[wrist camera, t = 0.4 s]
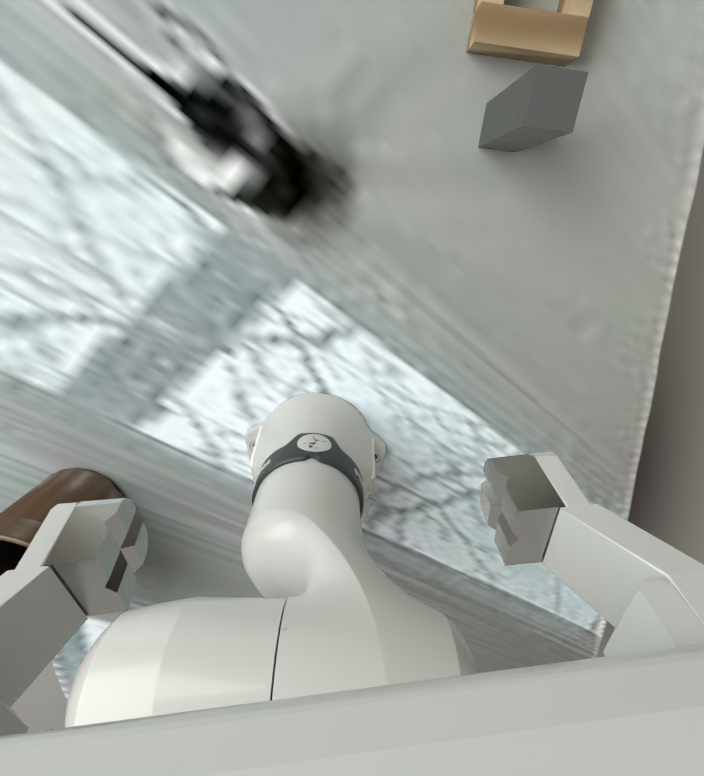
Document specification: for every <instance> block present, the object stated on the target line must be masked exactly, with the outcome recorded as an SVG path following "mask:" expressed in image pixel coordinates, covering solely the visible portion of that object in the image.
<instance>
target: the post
mask: <svg viewBox="0 0 704 776" xmlns="http://www.w3.org/2000/svg"><path fill="white" fill-rule="evenodd" d="M587 75H588V72H583V71H576V70H569V69H562V68H555V67H548V66H541V65H536V66H535V67H533V68H532V69H531V70H530V71H528V72H527V73H526V74H524V75H523V76H522V77H520V78H519V79H518V80H517V81H515V82H514V83H513V84H511V85H510V86H509V87H507V88H506V89H505V90H504V91H502V92H501V93H500V94H498V95H497V96H496V97H495V98H493V99H492V100H491V101H489V102H488V103H487V105H486V110H485V116H484V121H483V126H482V131H481V136H480V141H479V146H478V147H481V148H488V149H496V150H503V151H511V152H517V151H520V150H523V149H526V148H528V147H531V146H534V145H537V144H540V143H543V142H546V141H549V140H551V139H554V138H557V137H560V136H563V135H566V134H569V133H572V132H573V128H574V124H575V120H576V117H577V113H578V109H579V105H580V101H581V98H582V94H583V90H584V86H585V82H586V79H587Z"/></svg>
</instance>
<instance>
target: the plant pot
mask: <svg viewBox="0 0 704 776" xmlns="http://www.w3.org/2000/svg"><path fill="white" fill-rule="evenodd" d="M118 498H125V497H124V495H123V493H122V492H119V491H118V490H117V489H116V488H115V487H114V485H113V483H112V481H110V480H109V479H108V478H106V477H104V476H102V475H100V474H98V473H96V472H93V471H89V470H84V469H65V470H61V471H59V472H57V473H55V474H53V475H51V476H49V477H48V478H47V479H45V480H44V481H43V482H41V483H40V484H39V485H38V486H36V487H35V488H34V489H32V490H31V491H29V492H28V493H27V494H25V495H24V496H23V497H21V498H20V499H19V500H17V501H16V502H15V503H13V504H12V505H11V506H9V507H8V508H7V509H5V510H4V511H3V512H1V513H0V576H1V575H2V574H4V573H5V572H6V571H8V570H15V568H16V567H17V565H18V563H19V562H20V560H21V558H22V557H23V555H24V553H25V552H26V550H27V548H28V547H29V545H30V543H31V542H32V540H33V538H34V537H35V535H36V533H37V532H38V530H39V528H40V527H41V525H42V523H43V522H44V520H45V518H46V517H47V515H48V513H49V512H50V510H51V509H52V508H53V507H55V506H56V505H57V504H63V503H75V502H82V501H94V500H106V499H118Z"/></svg>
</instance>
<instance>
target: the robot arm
mask: <svg viewBox="0 0 704 776" xmlns="http://www.w3.org/2000/svg"><path fill="white" fill-rule="evenodd" d="M246 443H247V449H248V454H249V459H250V467H251V469H252V474H253V480H254V487H253V495H252V509H251V512H250V515H249V519H248V522H247V525H246V528H245V531H244V534H243V537H242V543H241V555H242V561H243V565H244V567H245V570H246V572H247V574H248V576H249V577H250V579H251V581H252V582H253V584H254V585H255V586H256V588H257V589H258V590H259V592H260V593H261V594H262V595H263V596H264V597H266V598H238V597H192V598H186V599H181V600H175V601H170V602H164V603H159V604H154V605H150V606H145V607H140V608H136V609H131V610H128V609H129V606H130V603H131V600H132V597H133V594H134V591H135V588H136V585H137V582H138V581H137V579H136V577H135V575H134V572H135V571H136V570H137V569H138V568H139V567H140V566H141V565H142V564H143V563H144V561H145V557H146V554H147V549H148V534H147V529H146V527H145V525H144V523H143V521H141V520H139V519H138V518H136V517H134V514H135V511H136V509H137V508H136V507H135V505H134V503H133V501H132V499H130V498H118V499H106V500H94V501H82V502H75V503H63V504H57V505H56V506H55V507H53V508H52V509H51V510H50V512H49V513H48V515H47V517H46V518H45V520H44V522H43V523H42V525H41V527H40V528H39V530H38V532H37V533H36V535H35V537H34V538H33V540H32V542H31V543H30V545H29V547H28V548H27V550H26V552H25V553H24V555H23V557H22V558H21V560H20V562H19V563H18V565H17V567H16V568H15V570H8V571H6V572H5V573H4V574H2V575H1V576H0V776H704V565H703V564H701V563H699V562H698V561H696V560H694V559H692V558H691V557H689V556H687V555H685V554H684V553H682V552H680V551H678V550H677V549H675V548H673V547H672V546H670V545H668V544H666V543H665V542H663V541H661V540H659V539H658V538H656V537H654V536H652V535H651V534H649V533H647V532H646V531H644V530H642V529H640V528H638V527H637V526H635V525H633V524H632V523H630V522H628V521H626V520H625V519H623V518H621V517H620V516H618V515H616V514H614V513H613V512H611V511H609V510H607V509H606V508H604V507H602V506H600V505H599V504H590V502H589V501H588V499H587V498H586V497H585V495H584V494H583V492H582V491H581V490H580V488H579V487H578V485H577V484H576V482H575V481H574V480H573V478H572V477H571V475H570V474H569V473H568V471H567V470H566V468H565V467H564V466H563V464H562V463H561V461H560V460H559V458H558V457H557V456H556V454H554V453H553V452H542V453H533V454H529V455H528V454H525V455H516V456H508V457H499V458H491V459H487V461H486V462H485V466H484V473H485V475H486V477H487V479H486V480H485V481H484V482H483V483H482V484H481V492H480V498H481V507H482V510H483V514H484V517H485V519H486V522H487V524H488V525H490V526H491V527H492V528H494V529H495V530H496V534H495V543H496V545H497V547H498V550H499V552H500V554H501V556H502V559H503V561H504V563H505V565H515V564H526V563H537V562H543V563H542V564H543V565H544V566H545V567H547V568H548V569H549V570H550V571H551V572H552V573H553V574H555V575H556V576H557V577H558V578H559V579H560V580H561V581H563V582H564V583H565V584H566V585H567V586H568V587H569V588H571V589H572V590H573V591H574V592H575V593H576V594H577V595H579V596H580V597H581V598H582V599H583V600H584V601H585V602H587V603H588V604H589V605H590V606H591V607H592V608H593V609H595V610H596V611H597V612H598V613H599V614H600V615H601V616H603V617H604V618H605V619H606V620H607V621H608V622H609V623H611V624H612V625H613V626H614V627H615V630H614V632H613V634H612V636H611V638H610V639H609V641H608V643H607V645H606V647H605V649H604V652H603V653H604V655H605V657H600V658H592V659H584V660H576V661H569V662H561V663H553V664H546V665H538V666H530V667H523V668H515V669H508V670H500V671H492V672H485V673H479V672H478V668H477V666H476V663H475V660H474V657H473V655H472V653H471V651H470V649H469V647H468V645H467V643H466V641H465V640H464V638H463V637H462V635H461V634H460V632H459V631H458V630H457V628H456V627H455V626H454V625H453V624H452V622H451V621H450V620H449V619H448V618H447V617H446V616H445V615H444V614H442V613H440V612H438V611H436V610H434V609H432V608H430V607H428V606H426V605H424V604H422V603H421V602H419V601H417V600H416V599H414V598H413V597H411V596H409V595H408V594H407V593H405V592H404V591H403V590H401V589H400V588H399V587H398V586H396V585H395V584H394V583H393V582H392V581H391V580H390V579H389V578H388V577H387V576H386V575H385V574H384V573H383V572H382V571H381V570H380V569H379V568H378V567H377V566H376V564H375V563H374V562H373V560H372V559H371V558H370V556H369V554H368V553H367V550H366V548H365V545H364V540H363V535H362V528H361V519H360V518H361V517H363V518H366V517H367V515H368V512H369V506H370V502H369V501H368V500H367V498H368V496H369V495H372V492H373V487H374V485H373V483H374V481H375V478H376V476H377V473H378V471H379V468H380V466H381V463H382V461H383V458H384V456H385V453H386V444H385V442H384V441H383V440H382V439H381V438H380V437H378V436H377V435H376V434H374V433H373V432H372V431H371V430H370V429H369V427H368V425H367V424H366V422H365V420H364V418H363V417H362V415H361V414H360V413H359V412H358V411H357V410H356V409H355V408H354V407H353V406H352V405H351V404H349V403H348V402H346V401H344V400H343V399H341V398H338V397H336V396H333V395H329V394H323V393H307V394H301V395H298V396H295V397H292V398H290V399H288V400H286V401H285V402H283V403H282V404H280V405H279V406H278V407H277V408H276V409H275V410H274V411H273V412H272V413H271V414H270V416H269V417H268V418H267V419H266V420H265V421H263V422H261V423H258V424H256V425H254V426H252V427H251V428H250V429H249V430H248V431H247V433H246ZM254 443H255V445H254ZM375 454H376V455H377V456H376V457H375ZM126 610H128V611H126ZM120 611H126V612H124V613H123V614H121V615H120V616H119V617H118V618H117V619H116V620H114V621H113V622H112V623H111V624H110V625H109V626H108V627H107V628H106V629H105V630H104V632H103V633H102V634H101V635H100V636H99V637H98V639H97V640H96V641H95V643H94V644H93V645H92V647H91V648H90V650H89V651H88V653H87V654H86V656H85V658H84V660H83V662H82V664H81V666H80V668H79V670H78V672H77V674H76V676H75V679H74V682H73V684H72V687H71V691H70V694H69V698H68V703H67V710H66V717H65V728H58V729H50V730H43V731H35V732H28V733H27V730H28V728H29V727H28V725H27V722H26V721H25V720H24V719H23V718H22V717H21V716H19V715H18V714H17V713H16V712H15V711H13V710H12V709H11V708H10V707H11V706H12V705H13V704H14V703H15V702H16V701H17V699H18V698H19V697H20V696H21V694H23V692H24V691H25V690H26V689H27V688H28V687H29V686H30V684H31V683H32V682H33V681H34V680H35V679H36V677H37V676H38V675H39V674H40V673H41V672H42V670H43V669H44V668H45V667H46V666H47V665H48V664H49V663H50V661H51V660H52V659H53V658H54V657H55V656H56V654H57V653H58V652H59V651H60V650H61V649H62V648H63V646H64V645H65V644H66V643H67V642H68V641H69V640H70V638H71V637H72V636H73V635H74V634H75V633H76V631H77V630H78V629H79V628H80V627H81V626H82V625H83V623H84V622H85V621H86V620H87V619H88V618H87V616H92V615H99V614H106V613H113V612H120Z"/></svg>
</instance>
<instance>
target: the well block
mask: <svg viewBox="0 0 704 776" xmlns="http://www.w3.org/2000/svg"><path fill="white" fill-rule="evenodd" d="M592 4H593V0H560V2H559V6H558V10H557V12H551V11H544V10H538V9H531V8H524V7H517V6H511V5H504V0H475V6H474V12H473V18H472V23H471V29H470V35H469V41H468V46H467V52H468V53H475V54H482V55H489V56H496V57H503V58H510V59H517V60H524V61H531V62H538V63H545V64H552V65H559V66H566V65H567V64H569V63H570V62H572V61H573V60H575V59H576V58H578V57H579V55H580V51H581V47H582V43H583V39H584V36H585V32H586V28H587V24H588V20H589V16H590V12H591V8H592Z"/></svg>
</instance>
